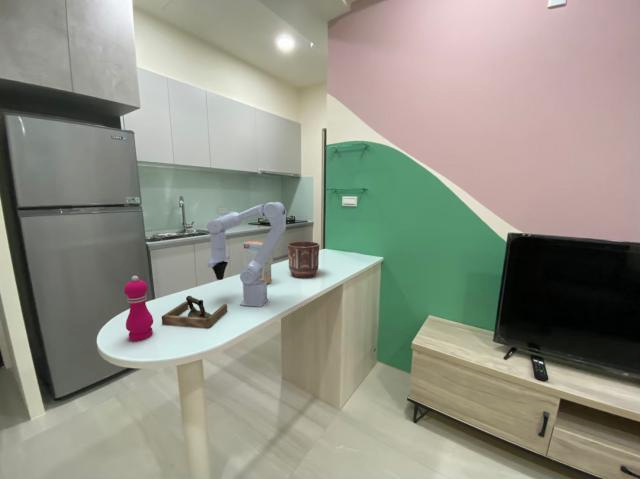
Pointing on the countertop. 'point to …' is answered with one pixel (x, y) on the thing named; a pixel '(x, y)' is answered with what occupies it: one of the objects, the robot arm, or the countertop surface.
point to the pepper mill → (138, 310)
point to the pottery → (303, 258)
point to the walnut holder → (177, 320)
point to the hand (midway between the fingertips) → (220, 279)
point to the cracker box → (249, 254)
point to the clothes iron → (194, 311)
